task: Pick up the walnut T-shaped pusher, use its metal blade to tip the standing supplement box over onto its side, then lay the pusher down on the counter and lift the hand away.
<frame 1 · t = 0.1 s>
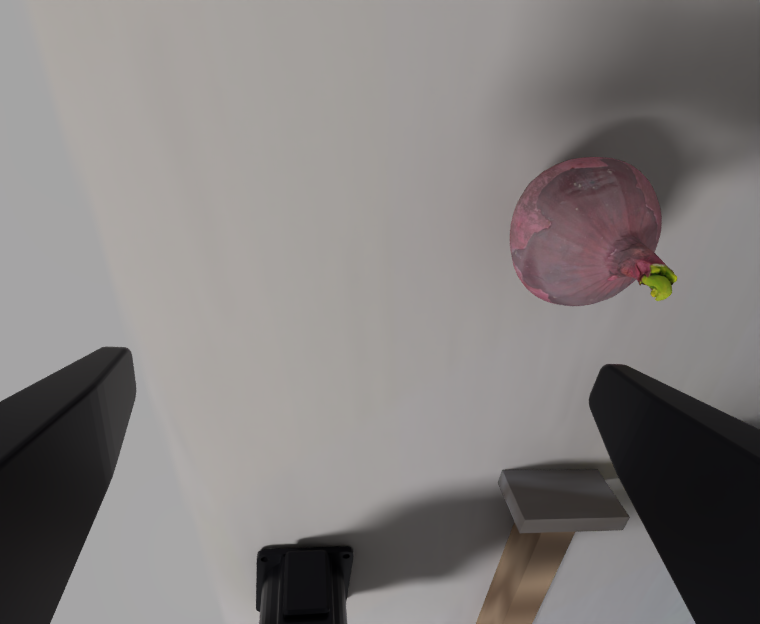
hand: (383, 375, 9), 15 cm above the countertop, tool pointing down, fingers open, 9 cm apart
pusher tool: (505, 579, 39), on the countertop
vegetable: (541, 204, 24), on the countertop
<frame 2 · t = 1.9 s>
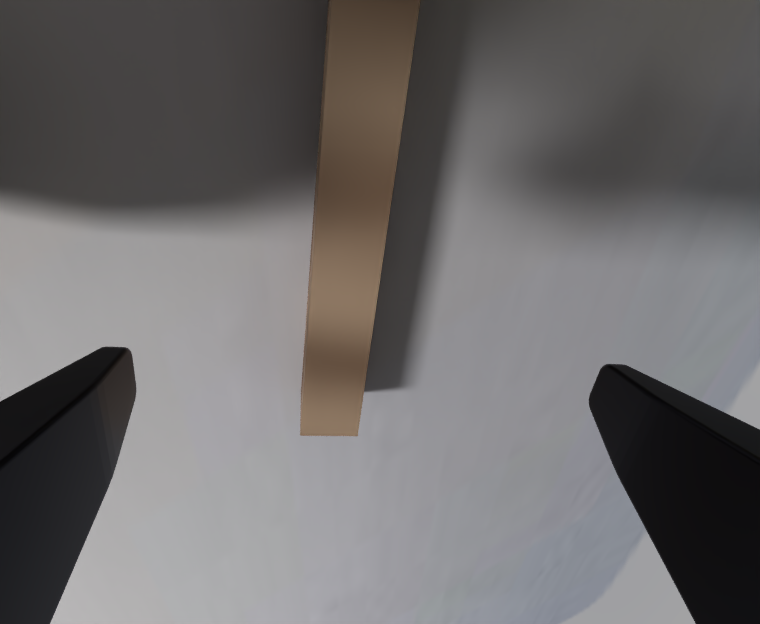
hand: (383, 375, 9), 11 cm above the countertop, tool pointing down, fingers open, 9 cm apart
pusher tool: (345, 206, 19), on the countertop
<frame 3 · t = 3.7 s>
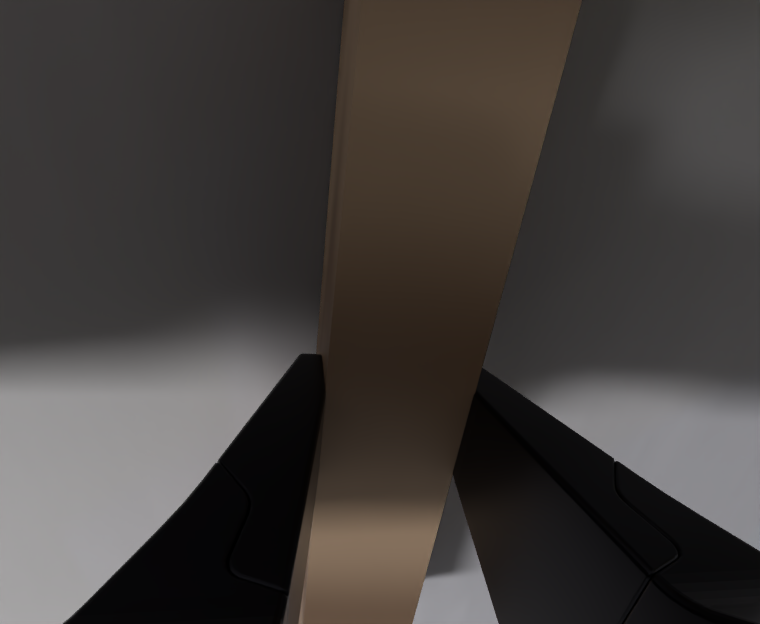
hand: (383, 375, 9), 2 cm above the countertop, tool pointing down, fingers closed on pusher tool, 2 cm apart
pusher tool: (373, 332, 11), on the countertop, touching gripper
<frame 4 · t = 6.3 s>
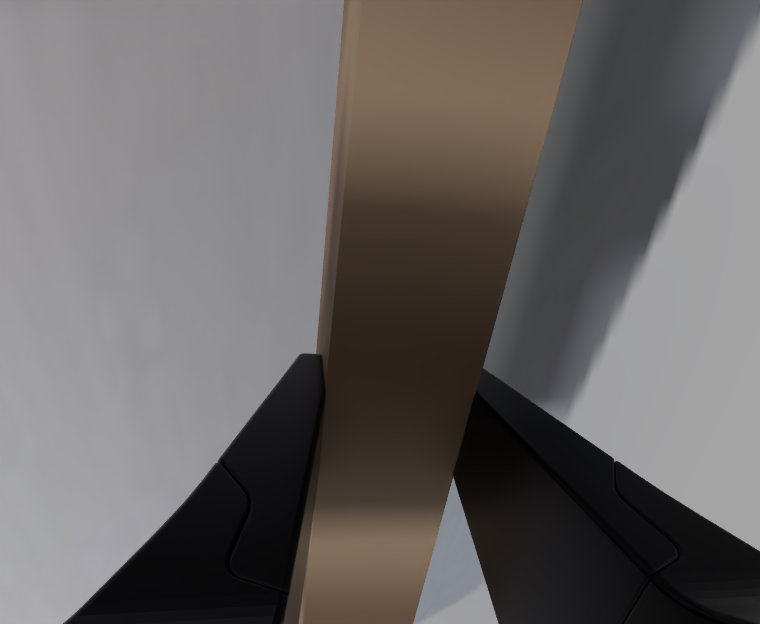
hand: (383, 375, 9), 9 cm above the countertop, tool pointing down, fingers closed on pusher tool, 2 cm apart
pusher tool: (373, 334, 11), point 7 cm above the countertop, touching gripper
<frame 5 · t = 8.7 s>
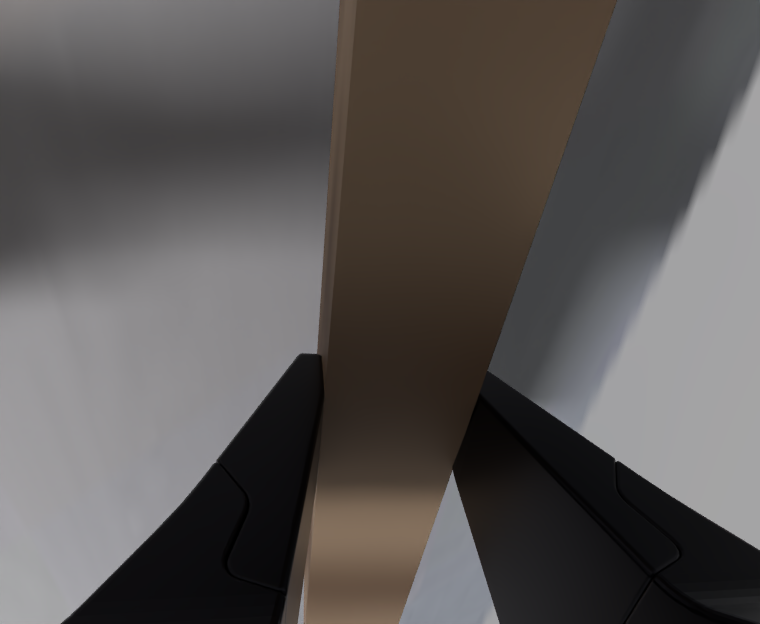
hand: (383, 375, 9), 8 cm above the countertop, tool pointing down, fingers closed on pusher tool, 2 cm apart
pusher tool: (375, 326, 11), point 7 cm above the countertop, tilted 8°, touching gripper
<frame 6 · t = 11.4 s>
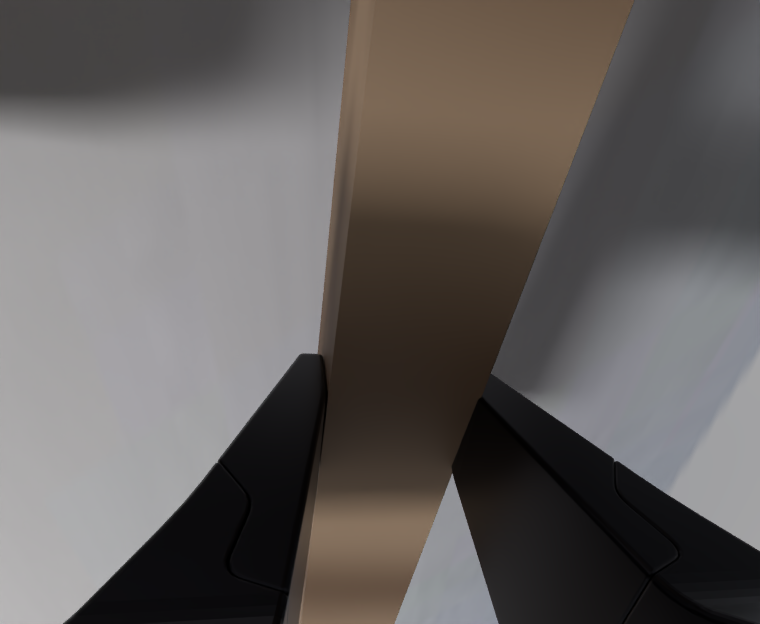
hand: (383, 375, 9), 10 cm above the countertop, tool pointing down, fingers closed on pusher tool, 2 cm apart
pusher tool: (376, 327, 11), point 8 cm above the countertop, tilted 9°, touching gripper
when the fingers open (3 cm above the countertop, at t = 13.5 s): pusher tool drops 2 cm, on the countertop.
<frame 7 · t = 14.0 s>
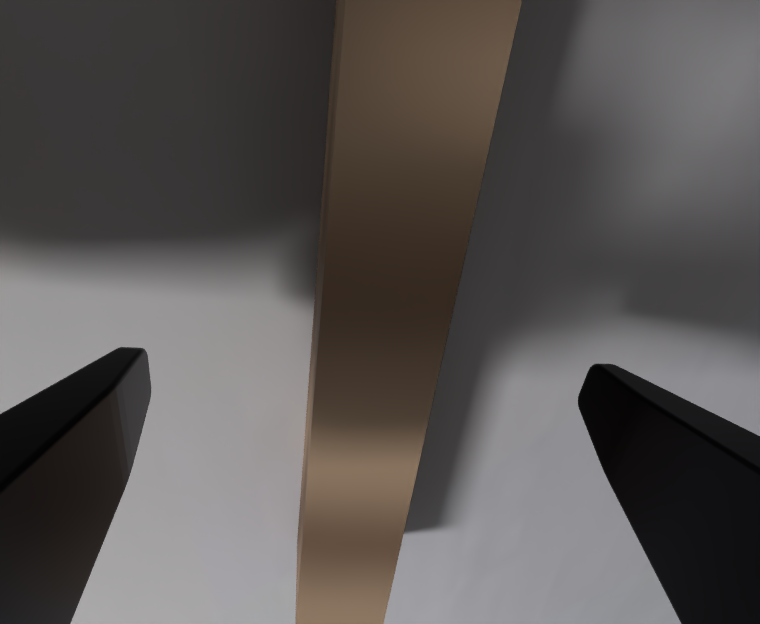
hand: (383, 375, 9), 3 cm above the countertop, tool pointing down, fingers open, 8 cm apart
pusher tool: (364, 291, 12), on the countertop
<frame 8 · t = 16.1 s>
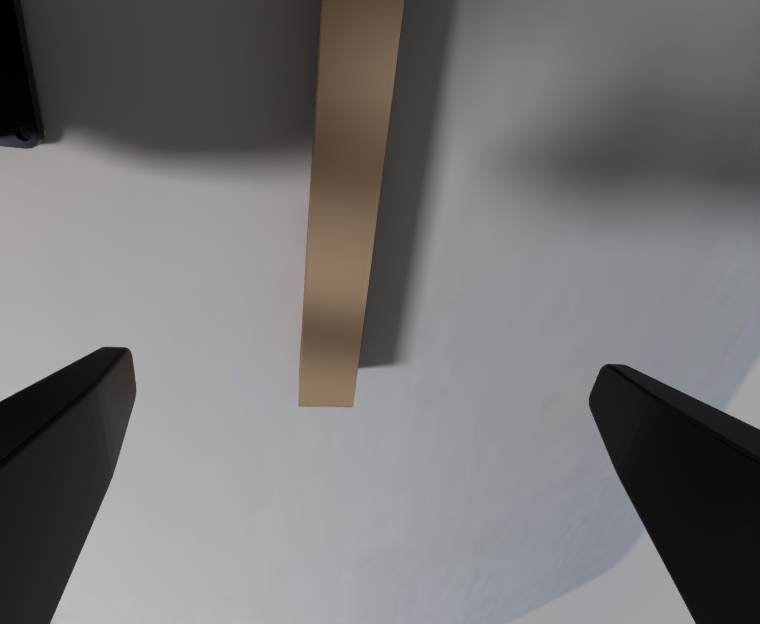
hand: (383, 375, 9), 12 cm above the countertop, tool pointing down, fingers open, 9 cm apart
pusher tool: (339, 187, 20), on the countertop
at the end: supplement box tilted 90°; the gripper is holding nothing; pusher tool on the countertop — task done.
